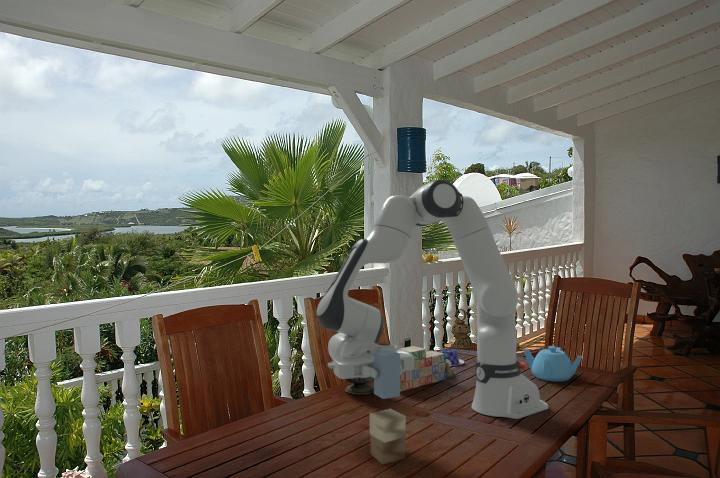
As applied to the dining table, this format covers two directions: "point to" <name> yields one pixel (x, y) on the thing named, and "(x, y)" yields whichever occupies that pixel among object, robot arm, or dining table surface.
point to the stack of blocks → (423, 368)
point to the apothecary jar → (360, 386)
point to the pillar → (387, 374)
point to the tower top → (387, 425)
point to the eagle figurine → (448, 370)
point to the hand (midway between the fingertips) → (388, 372)
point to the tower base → (388, 450)
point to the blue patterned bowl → (452, 356)
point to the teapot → (552, 364)
